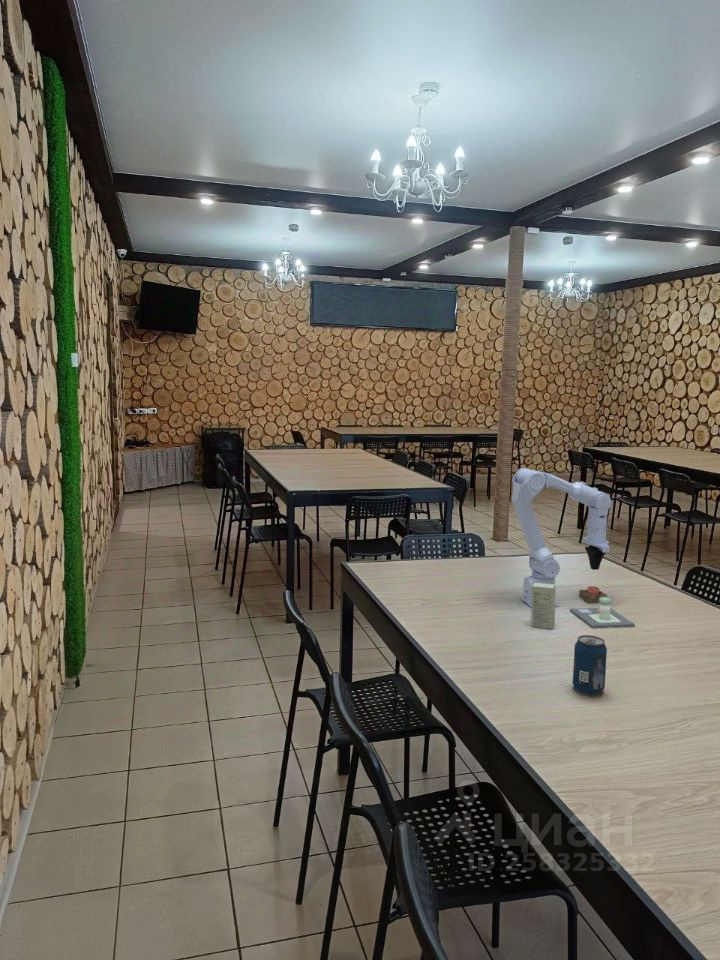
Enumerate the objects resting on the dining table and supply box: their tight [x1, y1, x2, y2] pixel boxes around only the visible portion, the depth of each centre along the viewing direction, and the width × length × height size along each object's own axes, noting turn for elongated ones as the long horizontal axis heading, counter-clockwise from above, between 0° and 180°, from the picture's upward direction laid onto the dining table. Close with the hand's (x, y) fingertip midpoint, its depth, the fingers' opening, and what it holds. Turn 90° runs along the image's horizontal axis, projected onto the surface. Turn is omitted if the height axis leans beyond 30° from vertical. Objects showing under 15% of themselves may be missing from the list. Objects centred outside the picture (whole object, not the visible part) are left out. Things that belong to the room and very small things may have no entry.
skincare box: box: [530, 583, 556, 629], centre depth 195 cm, size 6×4×12 cm
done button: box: [586, 585, 600, 594], centre depth 220 cm, size 4×4×3 cm
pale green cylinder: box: [598, 596, 612, 620], centre depth 199 cm, size 3×3×6 cm
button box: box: [578, 589, 608, 604], centre depth 220 cm, size 6×6×2 cm
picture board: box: [569, 607, 636, 629], centre depth 202 cm, size 13×15×1 cm
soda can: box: [572, 634, 608, 697], centre depth 153 cm, size 7×7×12 cm
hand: (594, 569), depth 219 cm, fingers closed
